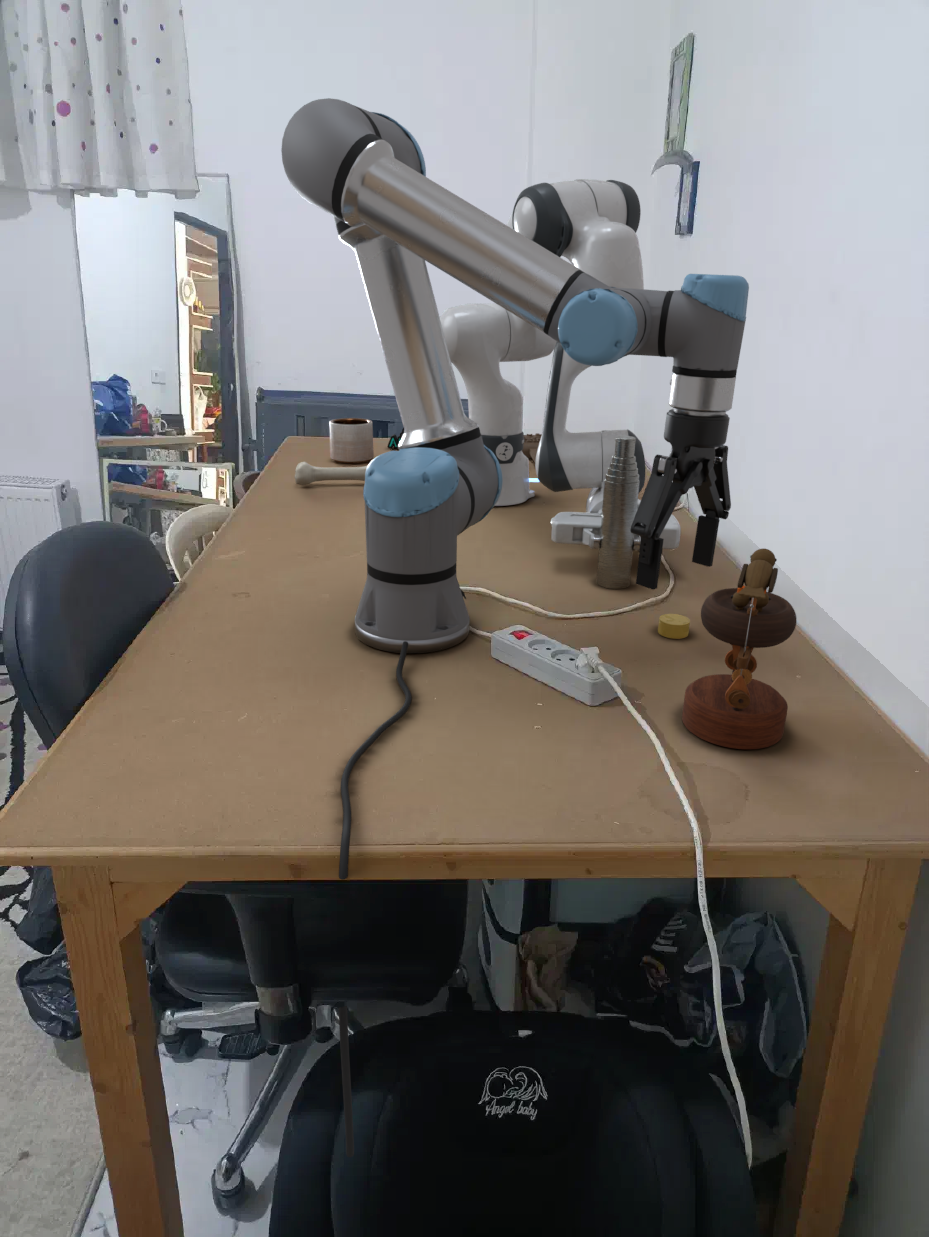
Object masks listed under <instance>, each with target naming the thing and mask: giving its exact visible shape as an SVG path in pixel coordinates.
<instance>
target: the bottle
mask: <svg viewBox="0 0 929 1237" xmlns="http://www.w3.org/2000/svg"><path fill="white" fill-rule="evenodd" d="M635 441H636V438H635V437H632V436H617V437H616V439H615V453H614V455H613V456H612V461H610V466H609V467H608V472H606V478H605V480H604V493H603V505H602V518H601V530H600V543H599V544H600V549H598V556H597V558H598V559H597V568H596V569H597V570H596V584H597V585H598V586H599V587H602V588H605V589H612V590H621V589H626V588H628V587H629V586H630V585H631V576H632V575H631V574H632V566H633V562H632V561H633V553H634V551H633V544H634V533H631V531H630V529H631V526H632V523H633V520H634V518H635V515H636V512H637V502H638V499H639V494H638V492H639V474H638V468H637V462H635V460H636V457H635V456H634V451H635V443H636V442H635Z"/></svg>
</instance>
